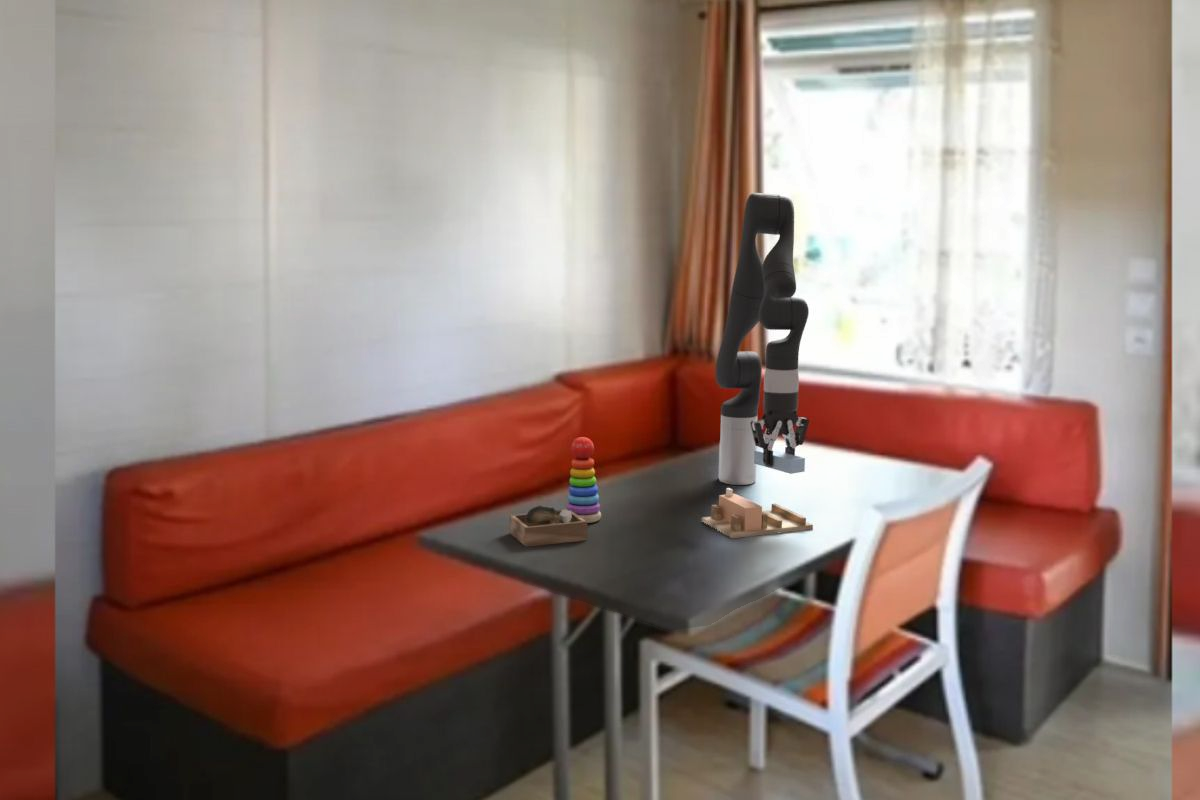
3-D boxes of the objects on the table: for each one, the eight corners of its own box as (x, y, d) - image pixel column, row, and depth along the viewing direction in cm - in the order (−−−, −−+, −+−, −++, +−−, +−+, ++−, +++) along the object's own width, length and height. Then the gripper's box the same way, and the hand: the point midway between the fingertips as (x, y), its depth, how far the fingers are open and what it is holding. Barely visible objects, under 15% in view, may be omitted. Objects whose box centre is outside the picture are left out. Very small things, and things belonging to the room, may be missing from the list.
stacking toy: (606, 516, 270) (606, 435, 267) (594, 525, 263) (594, 442, 259) (573, 513, 273) (573, 433, 269) (560, 522, 265) (560, 439, 262)
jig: (701, 521, 266) (702, 504, 266) (779, 513, 274) (780, 496, 273) (731, 538, 254) (732, 520, 253) (812, 529, 261) (813, 511, 261)
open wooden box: (509, 533, 256) (509, 515, 256) (569, 527, 261) (569, 509, 261) (525, 546, 247) (525, 528, 246) (587, 540, 252) (587, 521, 251)
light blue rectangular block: (753, 463, 267) (754, 450, 267) (767, 461, 270) (767, 448, 269) (790, 473, 258) (791, 460, 257) (804, 471, 260) (804, 458, 259)
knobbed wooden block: (718, 517, 267) (719, 488, 266) (734, 515, 268) (735, 487, 267) (745, 530, 256) (745, 501, 255) (761, 529, 257) (762, 499, 256)
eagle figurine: (538, 522, 259) (517, 524, 251) (556, 496, 258) (535, 497, 250) (563, 545, 256) (542, 547, 248) (581, 519, 255) (560, 520, 247)
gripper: (800, 384, 267) (797, 459, 270) (743, 388, 261) (741, 464, 264) (818, 389, 260) (815, 466, 263) (761, 393, 255) (758, 471, 257)
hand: (778, 464), depth 263 cm, fingers closed on light blue rectangular block, 4 cm apart
